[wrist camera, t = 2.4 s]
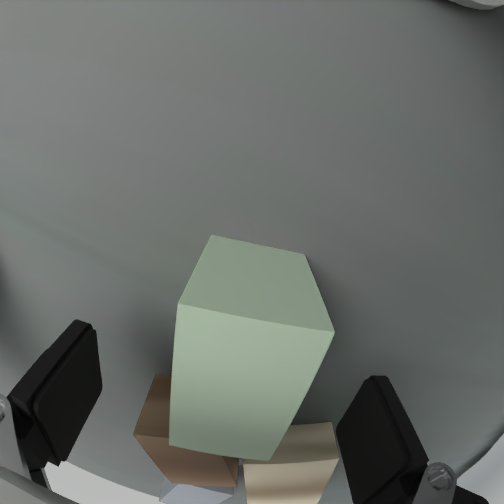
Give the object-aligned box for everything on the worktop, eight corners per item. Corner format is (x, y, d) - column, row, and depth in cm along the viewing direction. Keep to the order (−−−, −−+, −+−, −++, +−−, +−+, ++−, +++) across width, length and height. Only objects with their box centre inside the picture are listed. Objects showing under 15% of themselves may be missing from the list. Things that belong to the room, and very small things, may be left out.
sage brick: (211, 234, 11) (178, 302, 6) (304, 253, 11) (334, 332, 6) (192, 357, 13) (168, 444, 8) (266, 370, 13) (268, 461, 8)
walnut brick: (156, 373, 13) (132, 434, 10) (223, 372, 13) (214, 439, 9) (183, 429, 15) (171, 483, 11) (240, 429, 15) (236, 486, 11)
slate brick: (187, 445, 16) (180, 481, 13) (235, 460, 16) (233, 495, 14) (165, 472, 18) (158, 501, 15) (205, 484, 18) (201, 513, 15)
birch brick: (244, 422, 15) (242, 464, 12) (330, 417, 15) (339, 458, 12) (248, 476, 18) (247, 507, 15) (313, 473, 17) (317, 504, 15)
